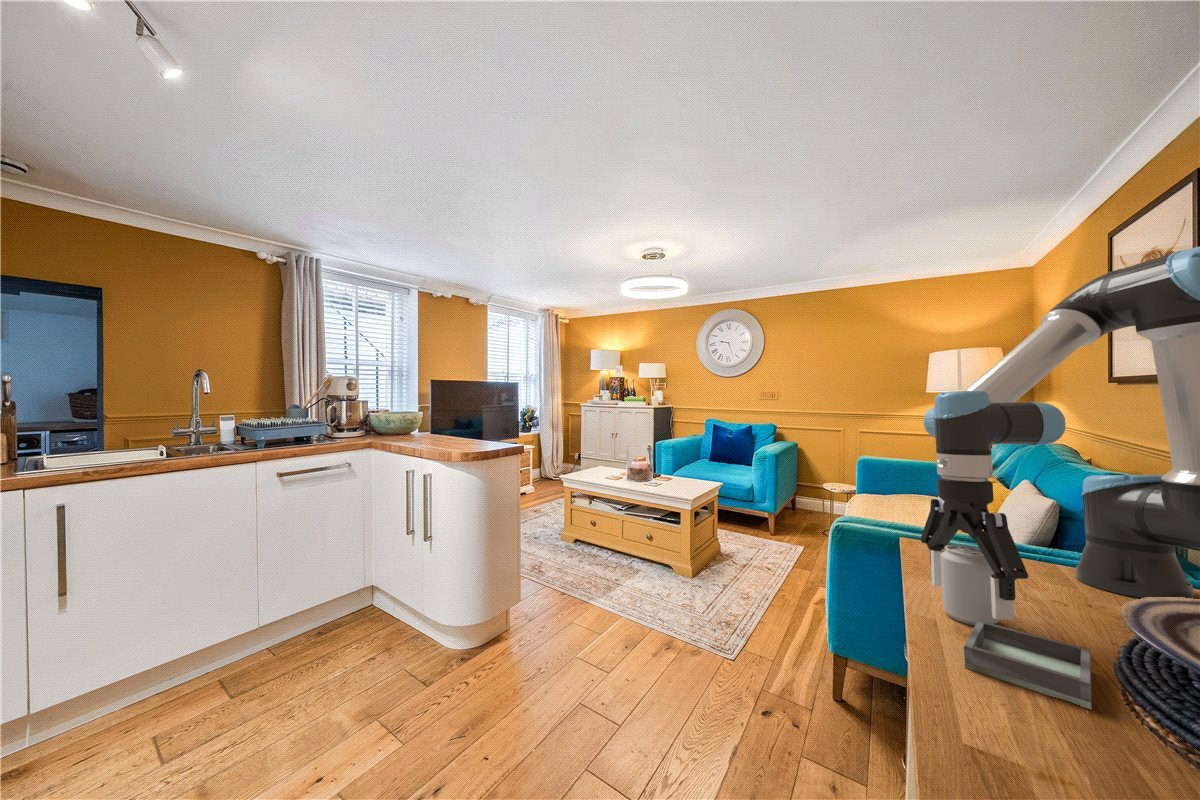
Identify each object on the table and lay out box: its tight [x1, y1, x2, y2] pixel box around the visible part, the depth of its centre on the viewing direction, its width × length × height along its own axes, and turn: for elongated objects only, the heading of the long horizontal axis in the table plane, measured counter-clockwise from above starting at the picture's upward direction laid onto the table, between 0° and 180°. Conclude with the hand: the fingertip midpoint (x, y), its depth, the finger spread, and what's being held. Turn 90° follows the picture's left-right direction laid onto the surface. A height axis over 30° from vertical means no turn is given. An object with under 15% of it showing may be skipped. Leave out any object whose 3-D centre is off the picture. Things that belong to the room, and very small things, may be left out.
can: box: [941, 544, 1001, 627], centre depth 75 cm, size 8×8×12 cm
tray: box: [963, 620, 1092, 711], centre depth 59 cm, size 12×12×3 cm
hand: (969, 600), depth 75 cm, fingers open, 13 cm apart
